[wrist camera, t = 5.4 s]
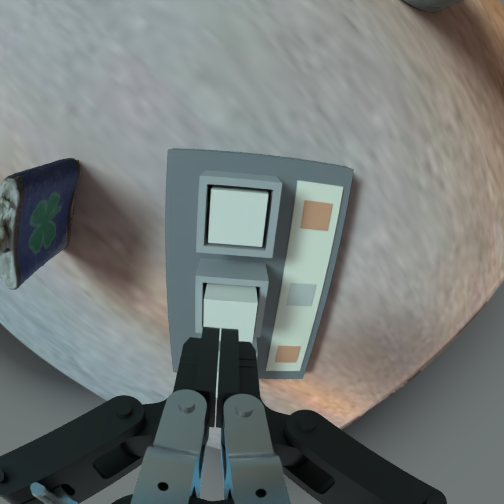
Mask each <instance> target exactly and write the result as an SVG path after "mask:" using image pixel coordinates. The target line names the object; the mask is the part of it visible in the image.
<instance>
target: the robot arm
mask: <svg viewBox="0 0 504 504" xmlns="http://www.w3.org/2000/svg"><path fill="white" fill-rule="evenodd" d="M403 1H405V2H406V3H408V4H410V5H412V6H413V7H416V8H418V9H421V10H424V11H428V12H436V11H439V10H442V9H444V8H446V7H449V6H451V5H454V4H456V3H458V2H461V1H464V0H403ZM219 335H220V328H214V327H203V330H202V337H201V338H194V337H190V338H189V339H188V340H187V341H186V342H185V343H184V344H183V348H182V353H181V357H180V363H179V367H178V371H177V376H176V381H175V386H174V390H173V393H172V394H171V395H170V396H169V397H168V398H167V399H166V400H164V401H162V402H159V403H153V404H143V405H142V404H141V403H140V401H138V400H137V399H136V398H134V397H131V396H125V395H122V396H117V397H114V398H112V399H110V400H109V401H107V402H105V403H103V404H102V405H100V406H98V407H96V408H94V409H93V410H91V411H89V412H87V413H85V414H84V415H82V416H80V417H78V418H77V419H75V420H73V421H71V422H69V423H67V424H65V425H63V426H62V427H59V428H58V429H55V430H54V431H52V432H50V433H48V434H46V435H44V436H42V437H40V438H38V439H36V440H34V441H32V442H30V443H28V444H26V445H24V446H21V447H19V448H17V449H15V450H13V451H11V452H9V453H7V454H5V455H2V456H0V496H1V497H2V498H3V499H5V500H6V501H7V502H8V503H9V504H79V503H81V502H82V501H84V500H86V499H87V498H89V497H91V496H93V495H94V494H96V493H98V492H99V491H101V490H103V489H104V488H106V487H107V486H109V485H111V484H112V483H114V482H116V481H117V480H119V479H120V478H122V477H123V476H125V475H126V474H128V473H129V472H131V471H132V470H134V469H135V468H137V467H138V466H140V465H141V464H142V465H141V469H140V472H139V475H138V479H137V482H136V486H135V489H134V493H133V494H131V495H128V496H125V497H123V498H120V499H118V500H116V501H115V502H113V503H112V504H291V503H290V499H289V495H288V490H287V486H286V482H285V477H284V474H285V475H286V476H287V477H288V478H290V479H291V480H292V481H293V482H295V483H296V484H297V485H298V486H299V487H301V488H302V489H303V490H305V491H306V492H307V493H309V494H310V495H311V496H312V497H314V498H315V499H316V500H318V501H319V502H320V503H322V504H447V501H446V498H445V496H444V494H443V493H442V492H440V491H439V490H437V489H435V488H433V487H432V486H430V485H428V484H426V483H424V482H422V481H421V480H418V479H417V478H415V477H414V476H412V475H410V474H408V473H407V472H405V471H403V470H402V469H400V468H398V467H397V466H395V465H393V464H392V463H390V462H389V461H387V460H385V459H384V458H382V457H381V456H379V455H377V454H376V453H374V452H373V451H371V450H370V449H368V448H367V447H365V446H364V445H362V444H361V443H359V442H358V441H356V440H355V439H353V438H352V437H351V436H349V435H347V434H346V433H345V432H343V431H342V430H341V429H339V428H338V427H336V426H335V425H334V424H332V423H331V422H329V421H328V420H327V419H325V418H324V417H323V416H321V415H320V414H318V413H316V412H314V411H311V410H299V411H296V412H294V413H292V414H291V415H286V414H282V413H278V412H275V411H273V410H271V409H269V408H268V407H267V406H265V405H264V403H263V402H262V400H261V398H260V390H259V380H258V369H257V358H256V350H255V348H254V347H253V345H252V344H251V342H245V341H239V331H238V329H227V328H221V342H220V358H219V375H218V395H217V416H216V427H219V428H221V457H222V469H223V480H224V500H221V501H207V500H204V499H200V488H201V478H202V471H203V464H204V458H205V451H206V445H207V441H208V437H209V427H214V423H215V402H216V384H217V367H218V351H219Z"/></svg>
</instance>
